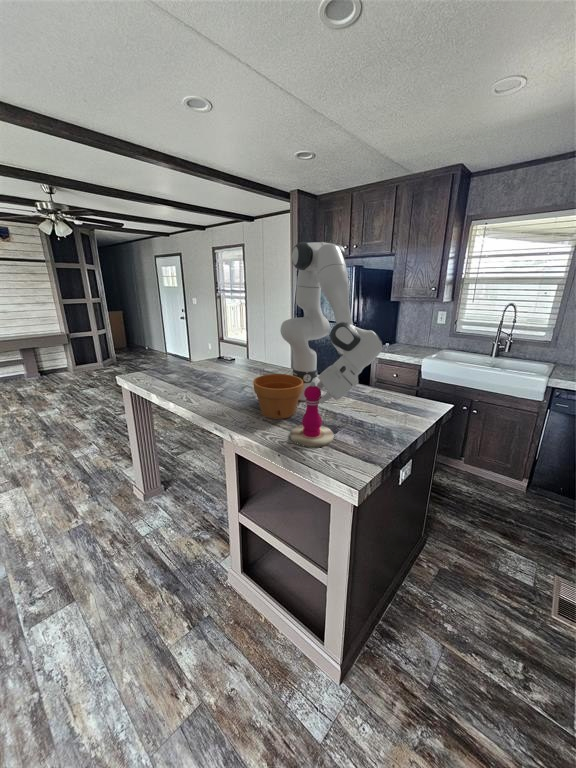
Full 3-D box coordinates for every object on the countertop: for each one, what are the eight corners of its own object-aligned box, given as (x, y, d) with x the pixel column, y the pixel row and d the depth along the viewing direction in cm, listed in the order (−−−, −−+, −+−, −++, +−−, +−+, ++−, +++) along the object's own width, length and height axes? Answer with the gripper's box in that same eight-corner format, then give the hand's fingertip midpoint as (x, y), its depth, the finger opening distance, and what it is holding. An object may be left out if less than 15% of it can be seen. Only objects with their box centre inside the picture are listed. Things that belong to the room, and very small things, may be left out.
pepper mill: (320, 428, 122) (321, 378, 116) (322, 437, 116) (324, 385, 109) (301, 429, 122) (301, 379, 116) (302, 438, 115) (303, 385, 109)
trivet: (287, 428, 126) (287, 425, 125) (327, 426, 128) (327, 423, 127) (293, 448, 111) (293, 445, 110) (338, 445, 113) (338, 442, 112)
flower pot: (308, 407, 147) (309, 376, 142) (293, 426, 128) (293, 391, 123) (266, 401, 153) (265, 371, 149) (246, 418, 135) (244, 385, 130)
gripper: (331, 357, 121) (305, 382, 123) (347, 372, 102) (316, 402, 104) (342, 368, 123) (316, 392, 125) (360, 385, 104) (329, 414, 106)
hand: (316, 397), depth 115 cm, fingers open, 8 cm apart
